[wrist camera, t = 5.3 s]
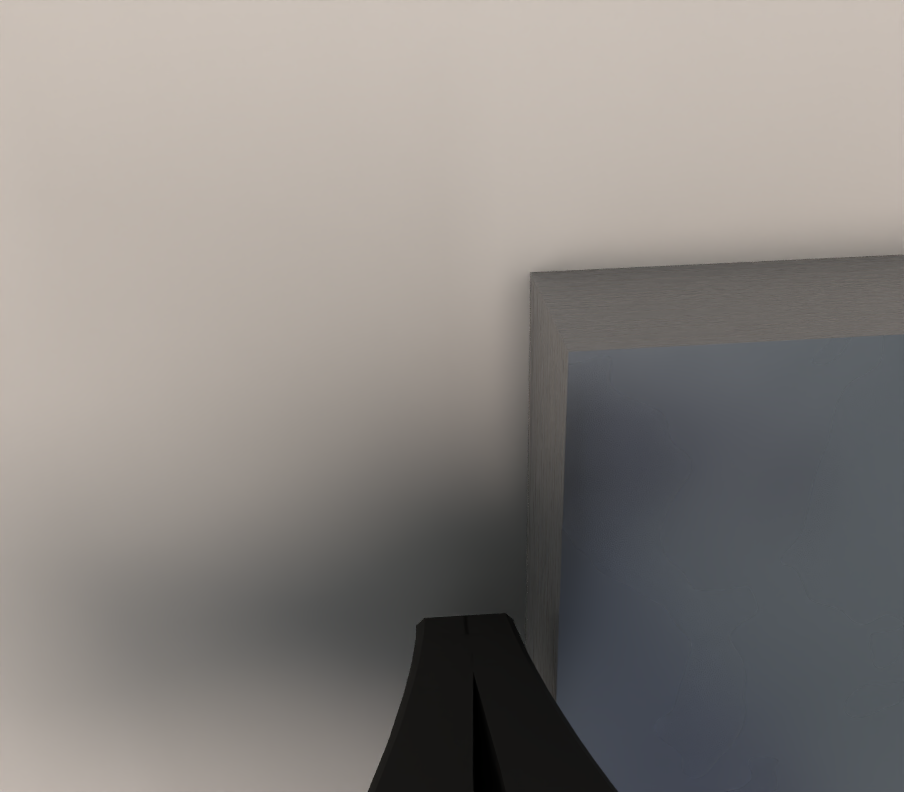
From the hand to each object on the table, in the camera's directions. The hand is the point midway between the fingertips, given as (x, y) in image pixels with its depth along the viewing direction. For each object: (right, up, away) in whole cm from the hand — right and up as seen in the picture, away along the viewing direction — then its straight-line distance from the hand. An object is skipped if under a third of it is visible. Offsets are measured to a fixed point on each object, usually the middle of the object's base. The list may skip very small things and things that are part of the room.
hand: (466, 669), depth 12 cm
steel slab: (+6, +1, +2) cm, 6 cm away
